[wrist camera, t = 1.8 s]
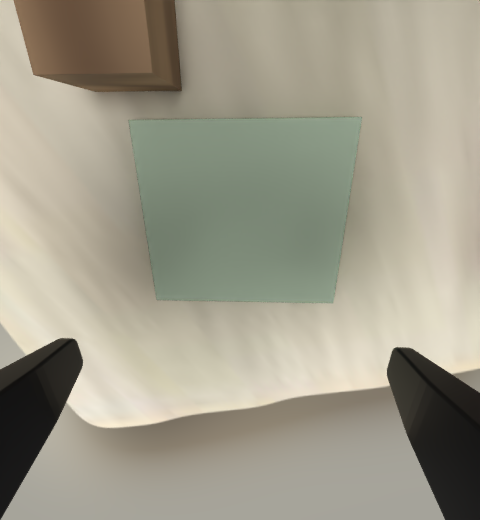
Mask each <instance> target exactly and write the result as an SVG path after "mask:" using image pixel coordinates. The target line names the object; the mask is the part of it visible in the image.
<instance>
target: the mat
mask: <svg viewBox="0 0 480 520" xmlns="http://www.w3.org/2000/svg"><path fill="white" fill-rule="evenodd" d="M361 121H362V117H324V118H243V119H161V120H129V127H130V133H131V139H132V146H133V152H134V159H135V165H136V171H137V178H138V184H139V190H140V197H141V203H142V210H143V216H144V222H145V229H146V235H147V242H148V248H149V254H150V261H151V267H152V274H153V280H154V286H155V293H156V299H157V300H182V301H236V302H290V303H333V301H334V295H335V288H336V282H337V276H338V269H339V263H340V256H341V250H342V243H343V237H344V230H345V224H346V217H347V211H348V205H349V198H350V192H351V185H352V179H353V172H354V166H355V159H356V153H357V146H358V140H359V133H360V127H361Z"/></svg>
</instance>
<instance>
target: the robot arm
mask: <svg viewBox="0 0 480 520" xmlns="http://www.w3.org/2000/svg"><path fill="white" fill-rule="evenodd" d="M82 366H83V359H82V356H81V352H80V349H79V346H78V343H77V341H76V340H75V339H72V338H60V339H57V340H55V341H54V342H52V343H50V344H48V345H46V346H44V347H42V348H40V349H38V350H36V351H35V352H33V353H31V354H29V355H27V356H25V357H23V358H21V359H19V360H17V361H16V362H14V363H12V364H10V365H8V366H6V367H4V368H2V369H0V519H1V518H2V516H3V514H4V513H5V511H6V509H7V508H8V506H9V504H10V502H11V501H12V499H13V497H14V495H15V494H16V492H17V490H18V488H19V487H20V485H21V483H22V482H23V480H24V478H25V476H26V475H27V473H28V471H29V469H30V468H31V466H32V464H33V462H34V461H35V459H36V457H37V456H38V454H39V452H40V450H41V449H42V447H43V445H44V443H45V441H46V440H47V438H48V436H49V435H50V433H51V431H52V429H53V427H54V426H55V424H56V422H57V420H58V418H59V416H60V414H61V412H62V410H63V408H64V406H65V404H66V401H67V399H68V397H69V395H70V393H71V391H72V388H73V386H74V384H75V382H76V380H77V378H78V376H79V373H80V371H81V369H82ZM387 377H388V381H389V384H390V386H391V389H392V392H393V395H394V398H395V401H396V404H397V407H398V410H399V413H400V416H401V419H402V422H403V424H404V428H405V430H406V433H407V436H408V438H409V440H410V443H411V445H412V447H413V449H414V451H415V453H416V456H417V458H418V461H419V463H420V465H421V467H422V469H423V472H424V474H425V476H426V478H427V481H428V483H429V485H430V487H431V489H432V492H433V494H434V496H435V498H436V501H437V503H438V505H439V507H440V509H441V512H442V513H443V516H444V518H445V520H480V393H479V392H478V391H476V390H475V389H473V388H471V387H470V386H468V385H467V384H465V383H464V382H462V381H461V380H459V379H458V378H456V377H455V376H453V375H452V374H450V373H449V372H447V371H445V370H444V369H442V368H441V367H439V366H438V365H436V364H435V363H433V362H432V361H430V360H429V359H427V358H426V357H424V356H423V355H421V354H419V353H418V352H416V351H415V350H413V349H411V348H404V347H396V348H394V349H393V351H392V354H391V357H390V361H389V364H388V368H387Z"/></svg>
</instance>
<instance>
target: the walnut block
mask: <svg viewBox="0 0 480 520" xmlns="http://www.w3.org/2000/svg"><path fill="white" fill-rule="evenodd" d="M14 3H15V7H16V11H17V15H18V18H19V22H20V26H21V30H22V33H23V37H24V41H25V45H26V48H27V52H28V56H29V60H30V63H31V67H32V71H33V75H36V76H40V77H43V78H47V79H51V80H54V81H58V82H62V83H65V84H69V85H73V86H77V87H80V88H84V89H88V90H91V91H95V92H116V91H182V88H181V76H180V63H179V50H178V38H177V25H176V13H175V0H14Z"/></svg>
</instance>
